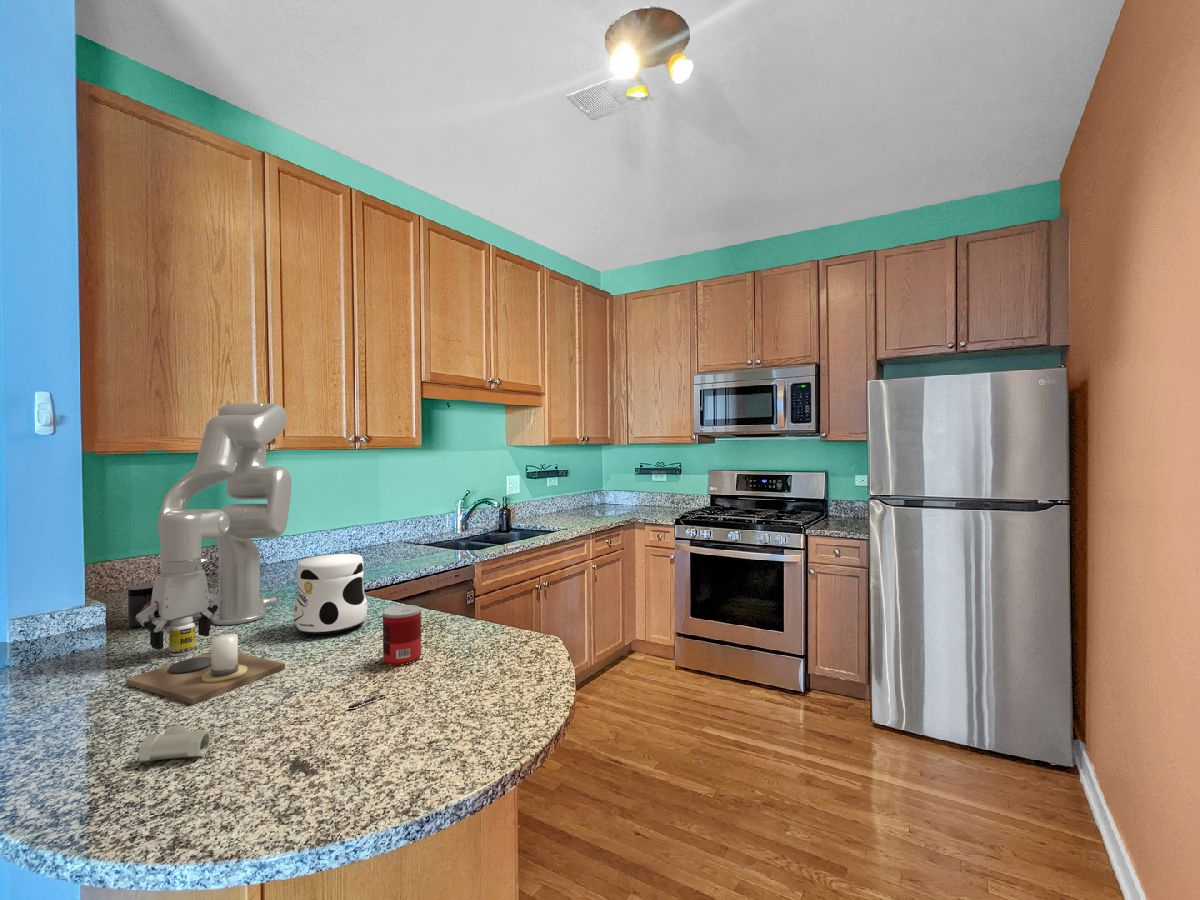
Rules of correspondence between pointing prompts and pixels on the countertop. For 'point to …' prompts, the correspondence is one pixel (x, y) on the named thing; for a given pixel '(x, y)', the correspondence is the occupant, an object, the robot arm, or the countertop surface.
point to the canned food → (401, 634)
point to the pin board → (202, 677)
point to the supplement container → (138, 603)
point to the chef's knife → (365, 701)
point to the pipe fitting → (175, 744)
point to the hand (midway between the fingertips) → (181, 641)
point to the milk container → (330, 594)
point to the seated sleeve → (224, 655)
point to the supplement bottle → (182, 636)
